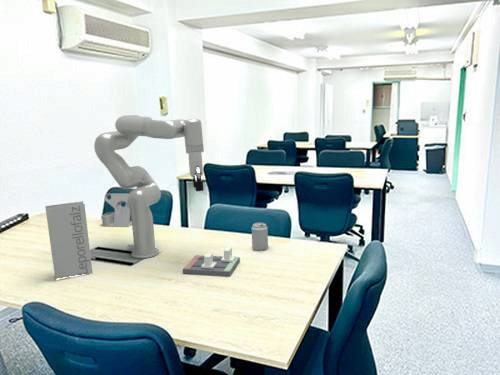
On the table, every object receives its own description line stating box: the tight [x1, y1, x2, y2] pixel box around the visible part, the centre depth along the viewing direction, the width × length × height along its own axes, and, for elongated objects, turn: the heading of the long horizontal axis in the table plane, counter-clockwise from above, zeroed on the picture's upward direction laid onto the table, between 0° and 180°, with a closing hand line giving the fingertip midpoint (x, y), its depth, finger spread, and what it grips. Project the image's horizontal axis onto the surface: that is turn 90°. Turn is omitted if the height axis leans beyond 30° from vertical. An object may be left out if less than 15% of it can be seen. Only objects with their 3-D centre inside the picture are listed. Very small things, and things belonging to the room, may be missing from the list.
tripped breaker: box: [201, 252, 217, 269], centre depth 172 cm, size 5×5×5 cm
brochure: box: [45, 200, 94, 279], centre depth 171 cm, size 14×6×30 cm, turn 117°
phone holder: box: [101, 192, 132, 228], centre depth 245 cm, size 17×10×18 cm, turn 80°
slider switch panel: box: [182, 254, 241, 277], centre depth 177 cm, size 20×16×2 cm
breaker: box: [221, 246, 236, 262], centre depth 178 cm, size 5×5×5 cm
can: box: [251, 222, 269, 252], centre depth 196 cm, size 8×8×12 cm
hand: (198, 188), depth 179 cm, fingers open, 9 cm apart
